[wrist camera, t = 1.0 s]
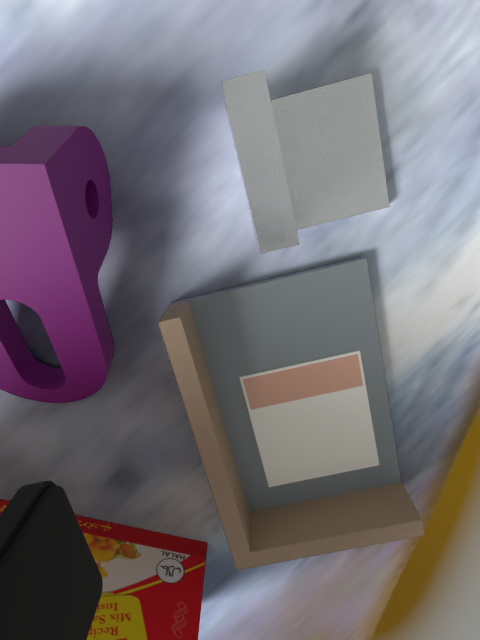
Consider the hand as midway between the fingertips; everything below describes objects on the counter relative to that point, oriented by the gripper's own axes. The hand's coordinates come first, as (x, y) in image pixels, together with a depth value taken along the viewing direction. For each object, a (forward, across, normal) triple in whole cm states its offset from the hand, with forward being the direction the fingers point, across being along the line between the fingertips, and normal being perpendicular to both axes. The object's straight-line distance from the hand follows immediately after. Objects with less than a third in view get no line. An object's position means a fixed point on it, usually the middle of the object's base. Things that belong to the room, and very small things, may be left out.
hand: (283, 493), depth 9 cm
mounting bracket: (+22, +14, -3) cm, 26 cm away
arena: (+21, -1, +10) cm, 24 cm away
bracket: (+22, -5, -7) cm, 23 cm away
